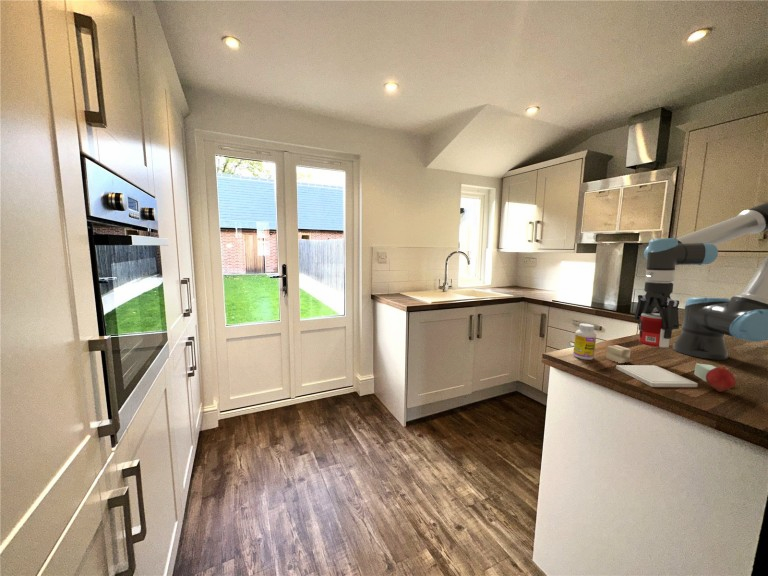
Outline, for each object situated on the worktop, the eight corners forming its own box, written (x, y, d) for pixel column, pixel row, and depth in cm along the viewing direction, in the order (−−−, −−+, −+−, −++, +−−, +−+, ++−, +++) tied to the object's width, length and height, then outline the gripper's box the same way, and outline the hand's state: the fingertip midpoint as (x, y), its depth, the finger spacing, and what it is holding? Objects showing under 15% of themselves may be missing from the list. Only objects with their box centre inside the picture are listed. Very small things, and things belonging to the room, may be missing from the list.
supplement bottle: (583, 360, 111) (586, 327, 109) (569, 354, 118) (572, 323, 116) (598, 359, 113) (601, 326, 111) (583, 353, 119) (586, 322, 117)
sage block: (709, 376, 99) (711, 365, 98) (722, 384, 93) (724, 372, 93) (694, 374, 100) (695, 363, 100) (705, 382, 95) (707, 370, 94)
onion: (698, 386, 91) (702, 361, 90) (715, 386, 91) (719, 361, 90) (721, 396, 85) (726, 369, 84) (739, 395, 86) (744, 369, 84)
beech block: (615, 357, 115) (617, 345, 115) (629, 362, 111) (630, 349, 110) (605, 358, 114) (607, 346, 113) (619, 363, 109) (620, 350, 109)
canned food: (673, 347, 105) (676, 317, 103) (647, 346, 106) (650, 316, 105) (658, 341, 112) (661, 312, 111) (634, 340, 114) (636, 312, 112)
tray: (655, 368, 104) (655, 365, 104) (697, 387, 91) (697, 382, 90) (615, 368, 104) (616, 364, 104) (651, 386, 90) (652, 382, 90)
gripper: (625, 279, 117) (620, 335, 120) (677, 285, 96) (669, 353, 99) (644, 278, 117) (639, 334, 120) (699, 284, 96) (692, 352, 99)
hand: (653, 343), depth 109 cm, fingers closed on canned food, 8 cm apart
